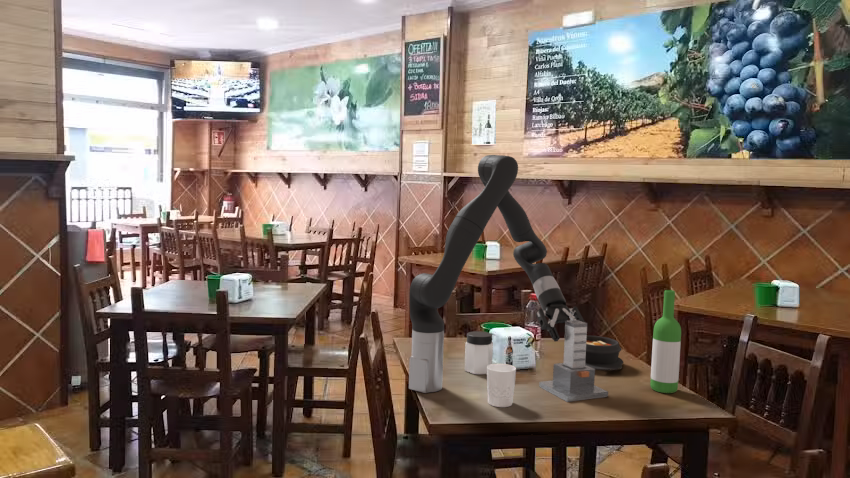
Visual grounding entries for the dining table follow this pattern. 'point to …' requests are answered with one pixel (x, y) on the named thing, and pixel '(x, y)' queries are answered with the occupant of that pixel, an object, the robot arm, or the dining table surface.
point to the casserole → (602, 353)
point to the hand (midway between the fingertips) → (569, 339)
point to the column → (575, 344)
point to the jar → (478, 352)
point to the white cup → (500, 384)
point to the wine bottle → (666, 349)
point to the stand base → (573, 384)
